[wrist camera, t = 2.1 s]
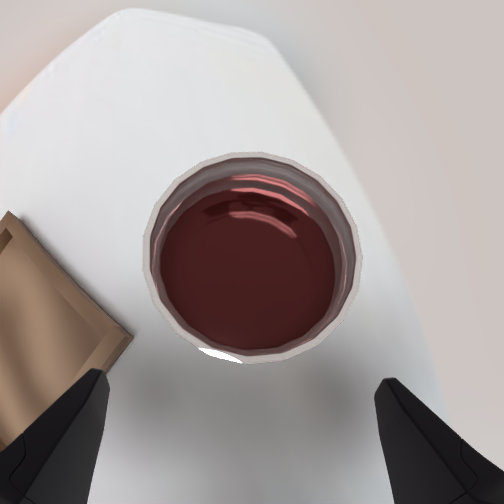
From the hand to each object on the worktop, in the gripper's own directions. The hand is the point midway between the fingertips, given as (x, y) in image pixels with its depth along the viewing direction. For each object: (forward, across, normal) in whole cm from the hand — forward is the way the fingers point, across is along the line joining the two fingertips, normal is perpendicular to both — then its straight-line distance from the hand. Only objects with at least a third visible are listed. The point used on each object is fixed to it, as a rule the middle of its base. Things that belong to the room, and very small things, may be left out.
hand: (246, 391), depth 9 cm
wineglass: (+11, 0, +5) cm, 12 cm away
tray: (+7, +17, +9) cm, 20 cm away
